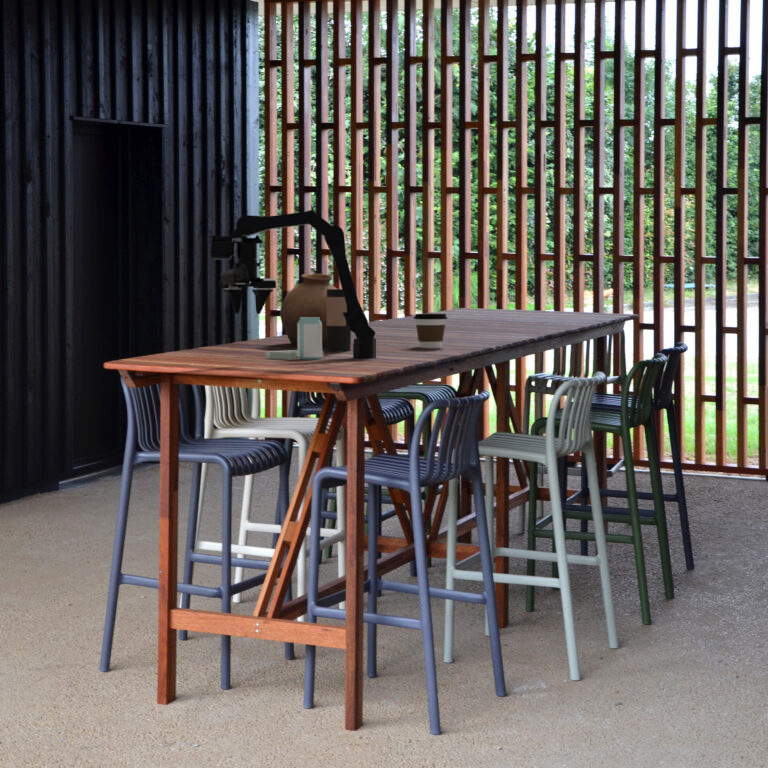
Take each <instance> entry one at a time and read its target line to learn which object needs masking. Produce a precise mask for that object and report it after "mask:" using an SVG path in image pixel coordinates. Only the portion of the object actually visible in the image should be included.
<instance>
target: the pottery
mask: <svg viewBox="0 0 768 768" xmlns="http://www.w3.org/2000/svg"><path fill="white" fill-rule="evenodd" d="M301 278H302V279H303V282H301V283H299V284H298V285H296V286H294V287H293V288H292V289H290V291H289V292H288V293H287V294H286V296H285V297H284V299H283V301H282V303H281V306H280V310H279V311H280V312H279V315H280V320H281V323H282V326H283V328H284V331H285V334H286V337H287V338H288V341H289V342H290V343H291V344H292V345H293V346H296V345H297V346H296V347H298V343H297V323H298V321H299V320H300V318H301V317H319V318H320V321H321V323H322V348H323V347H324V348H327V289H338V288H336V286H334V285H332V284H331V283H330V281H331V280H332V278H333V276H331V275H329V274H324V273H311V274H310V273H304V274H301Z"/></svg>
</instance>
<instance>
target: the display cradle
mask: <svg viewBox="0 0 768 768" xmlns="http://www.w3.org/2000/svg"><path fill="white" fill-rule="evenodd" d="M265 353H266V354H265V355H266V358H265V359H270V360H273V359H274V360H290V361H291V360H292V361H294V360H296V358H298V349H291V350H290V349H288V350H270V351H269V350H268V351H266V352H265ZM324 355H325V354H324V350H322V357H321V358H320V359H324V357H325V356H324Z"/></svg>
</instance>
